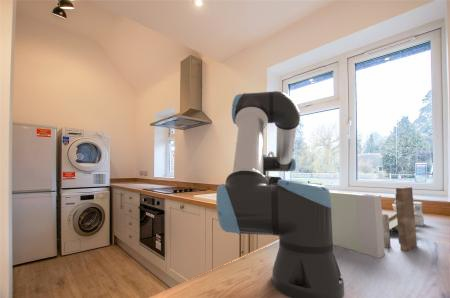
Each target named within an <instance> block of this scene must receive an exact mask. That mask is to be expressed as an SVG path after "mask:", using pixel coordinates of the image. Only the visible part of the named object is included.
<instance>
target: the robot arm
mask: <svg viewBox="0 0 450 298" xmlns="http://www.w3.org/2000/svg"><path fill="white" fill-rule="evenodd" d="M231 105H232V106H231V107H232V108H231V119H232V122H233V124H234V125H235V126H236V127H237V128H238V129H237V136H236V142H235V143H236V145H235V152H234V160H233V167H232V172H231V173H229V174H228V176H226V179H225V184H224V183H221V184H219V185H217V188H216V195H215V197H216V201H215V202H216V213H217V218H218V219H217V220H218V224H219V226H220V228H221V230H222V231H223V232H225V233H232V234H237V235H241V234H243V235H260V236H262V235H264V236H265V235H266V236H278V237H279V238H278V239H279V241H278V242H279V243H278V244H279V246H278V250H277V253H276V256H275V260H274V264H273V266H272V274H271V275H272V277H271V278H272V283H273V286H274V287H275V288H276V290H278V291H279V292H280V293H282V294H283V295H285V296H287V297H289V298H343V297H344V295H345V282H344V278H343V276H342V273H341V271H340V268H339V265H338V263H337V259H336V257H335V254H334V245H333V237H332V214H331V208H332V206H331V198H330V192H331V191H330V189H329V188H327V187H326V186H325V185H323V183H320V182H316V183H315V182H310V181H309V180H308V181H306V182H304V181H300V180H299V181H297V180H290V179H282V178H281V177H280V176H268V175H267V172H287V173H288V172H294V171H295V170H296V167H297V166H296V165H297V163H296V161H297V160H296V157H295V156H293V154H294V146H295V145H294V144H295V138H296V130H297V128H298V126H299V125H300V119H301V114H300V113H301V112H300V109H299V107H298V105H297V103H296V101H294V99H293V98H292V97H291V96H290V95H289V94H287V93H285V92H282V91H277V90H275V91H274V90H273V91H264V92H263V91H260V92H244V93H238V94H236V95H235V96H234V98H233V100H232V104H231ZM268 124H274V125H275V127H276V149H275V150H276V153H275V154H276V155H275V156H267V154H266V153H264V129H266V127H267V126H268Z"/></svg>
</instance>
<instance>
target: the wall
mask: <svg viewBox="0 0 450 298" xmlns="http://www.w3.org/2000/svg"><path fill="white" fill-rule="evenodd" d="M386 214H387V213H386ZM415 214H417V213H414V215H415ZM387 215H388V217H389V230H393V231H394V232H397V233H398V222H397V212H394V211H392V212H390V213H388V214H387Z"/></svg>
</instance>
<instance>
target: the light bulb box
mask: <svg viewBox="0 0 450 298" xmlns="http://www.w3.org/2000/svg"><path fill="white" fill-rule="evenodd" d="M393 204H396V200H394V202H393ZM413 204H414V206H415V207H414V213H417V214H415V215H414V216H415V226H419V227H420V226H421V227H423V226H424V225H425V221H424V220H425V219H424V211H423V202H422V201H413Z"/></svg>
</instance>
